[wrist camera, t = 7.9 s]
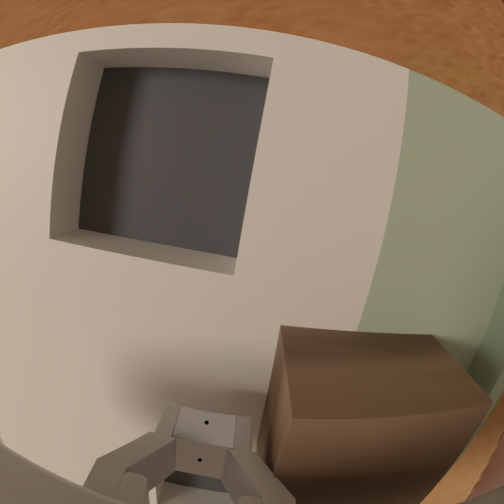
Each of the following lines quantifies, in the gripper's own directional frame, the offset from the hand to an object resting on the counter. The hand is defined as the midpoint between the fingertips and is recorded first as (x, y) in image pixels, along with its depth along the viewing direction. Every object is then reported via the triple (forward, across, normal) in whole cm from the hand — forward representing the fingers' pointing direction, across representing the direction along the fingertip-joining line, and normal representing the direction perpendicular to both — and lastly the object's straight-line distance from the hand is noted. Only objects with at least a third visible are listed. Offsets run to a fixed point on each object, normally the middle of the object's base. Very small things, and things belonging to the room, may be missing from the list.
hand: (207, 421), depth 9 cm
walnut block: (+2, -5, 0) cm, 5 cm away
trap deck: (+4, +2, 0) cm, 4 cm away
